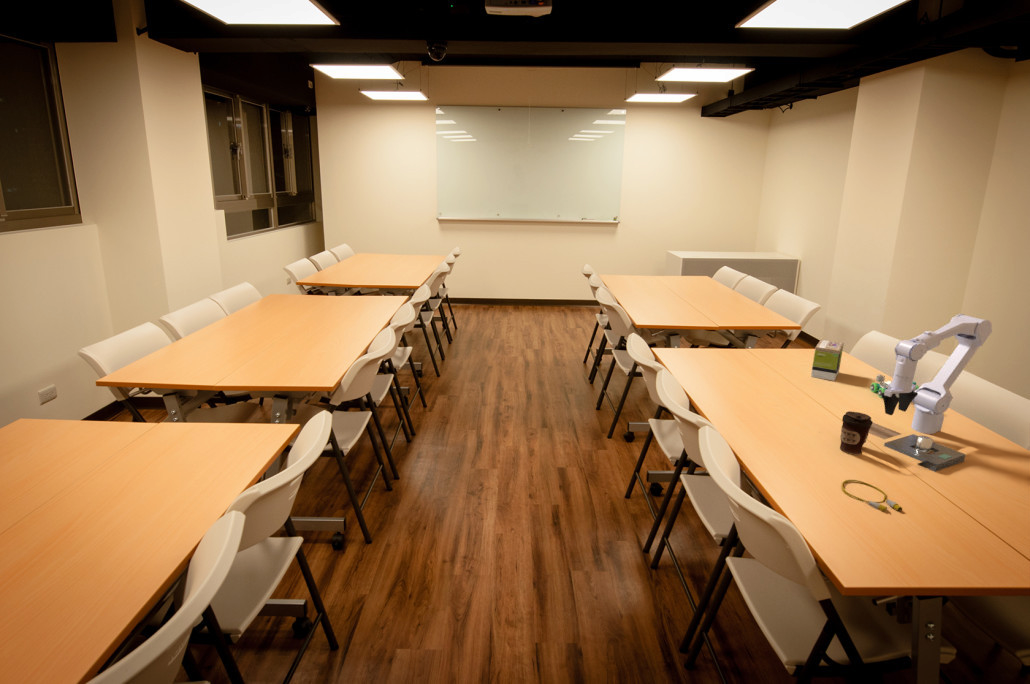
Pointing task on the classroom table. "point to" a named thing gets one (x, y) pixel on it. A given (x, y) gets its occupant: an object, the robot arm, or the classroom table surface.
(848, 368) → the classroom table surface
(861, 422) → the coffee cup
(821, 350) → the tea box
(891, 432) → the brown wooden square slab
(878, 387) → the robot kit
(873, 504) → the yellow looped cable
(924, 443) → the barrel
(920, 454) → the plate
